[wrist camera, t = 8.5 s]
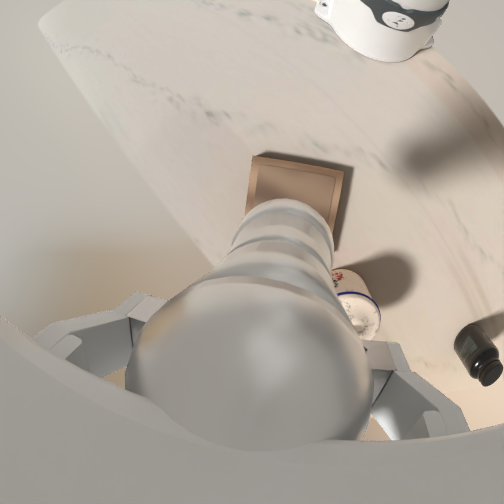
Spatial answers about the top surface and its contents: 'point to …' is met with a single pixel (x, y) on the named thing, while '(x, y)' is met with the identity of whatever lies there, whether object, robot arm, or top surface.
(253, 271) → the plastic bottle
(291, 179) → the display stand
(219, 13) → the top surface
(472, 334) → the supplement bottle
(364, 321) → the teacup with lid
